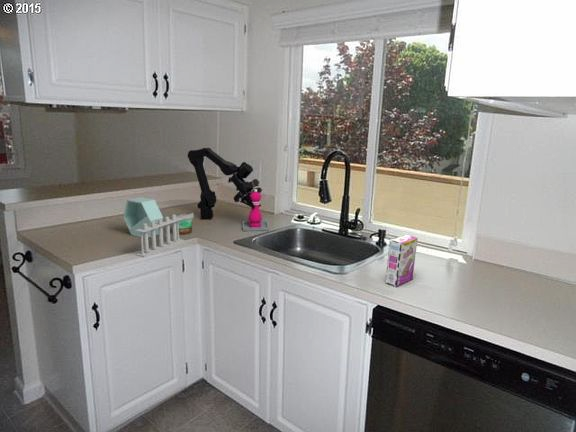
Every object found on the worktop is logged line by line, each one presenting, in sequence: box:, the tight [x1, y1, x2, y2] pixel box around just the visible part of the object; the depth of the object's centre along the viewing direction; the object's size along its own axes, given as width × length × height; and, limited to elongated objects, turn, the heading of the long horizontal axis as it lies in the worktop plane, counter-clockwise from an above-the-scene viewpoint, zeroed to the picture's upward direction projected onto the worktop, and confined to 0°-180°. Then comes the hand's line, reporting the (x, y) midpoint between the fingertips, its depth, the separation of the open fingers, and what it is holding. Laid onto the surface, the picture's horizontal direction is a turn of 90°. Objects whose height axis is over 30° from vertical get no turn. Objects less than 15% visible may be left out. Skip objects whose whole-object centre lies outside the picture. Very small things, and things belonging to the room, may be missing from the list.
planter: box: [123, 196, 164, 239], centre depth 188 cm, size 17×8×21 cm
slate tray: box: [242, 220, 270, 232], centre depth 208 cm, size 13×13×2 cm
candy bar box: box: [385, 234, 419, 288], centre depth 141 cm, size 11×5×16 cm, turn 133°
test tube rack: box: [135, 214, 185, 258], centre depth 171 cm, size 25×4×13 cm, turn 156°
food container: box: [169, 210, 195, 236], centre depth 193 cm, size 12×6×10 cm, turn 131°
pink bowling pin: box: [247, 188, 263, 227], centre depth 205 cm, size 7×7×20 cm
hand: (257, 207), depth 204 cm, fingers open, 5 cm apart
